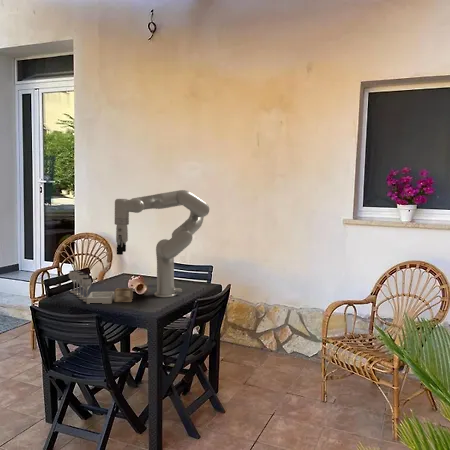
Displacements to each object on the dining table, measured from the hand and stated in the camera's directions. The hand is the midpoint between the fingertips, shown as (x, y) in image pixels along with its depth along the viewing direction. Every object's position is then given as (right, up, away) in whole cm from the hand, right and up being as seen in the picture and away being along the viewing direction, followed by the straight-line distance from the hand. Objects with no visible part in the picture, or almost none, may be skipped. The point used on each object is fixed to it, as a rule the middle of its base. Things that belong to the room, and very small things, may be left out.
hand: (121, 253), depth 247 cm
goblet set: (-24, -24, +5) cm, 34 cm away
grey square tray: (-10, -25, -2) cm, 28 cm away
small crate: (+2, -26, -1) cm, 26 cm away
